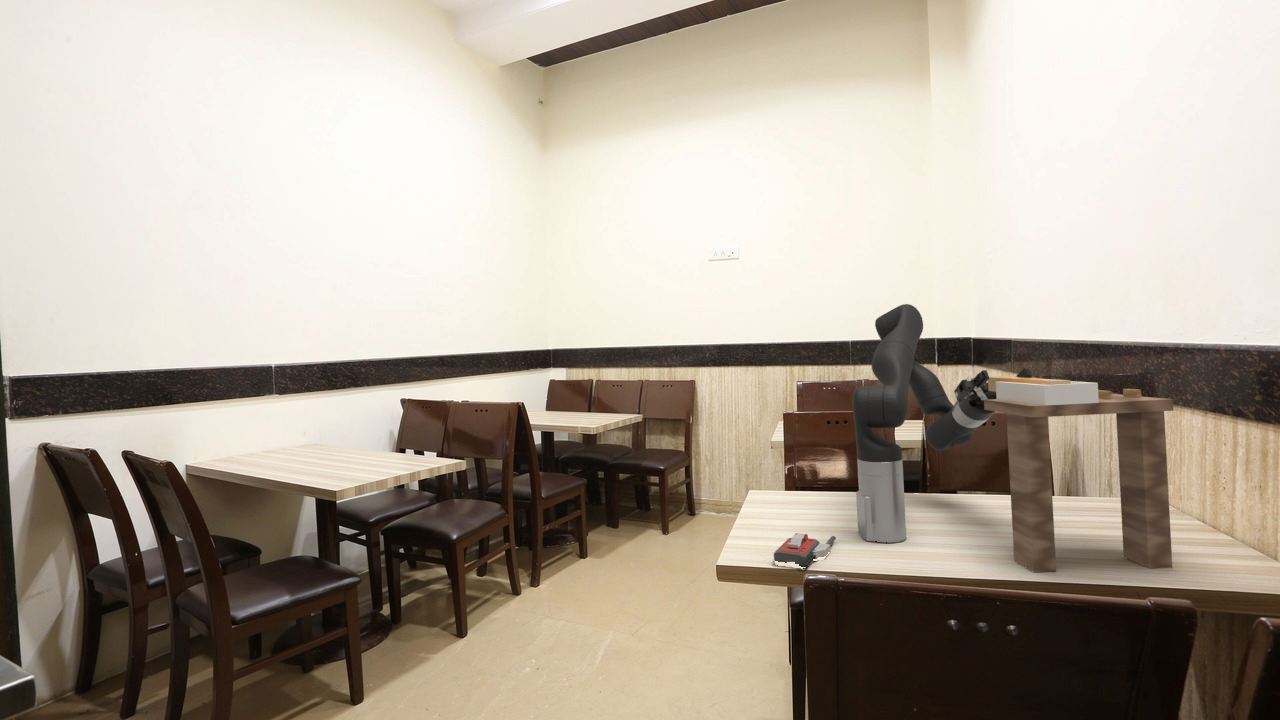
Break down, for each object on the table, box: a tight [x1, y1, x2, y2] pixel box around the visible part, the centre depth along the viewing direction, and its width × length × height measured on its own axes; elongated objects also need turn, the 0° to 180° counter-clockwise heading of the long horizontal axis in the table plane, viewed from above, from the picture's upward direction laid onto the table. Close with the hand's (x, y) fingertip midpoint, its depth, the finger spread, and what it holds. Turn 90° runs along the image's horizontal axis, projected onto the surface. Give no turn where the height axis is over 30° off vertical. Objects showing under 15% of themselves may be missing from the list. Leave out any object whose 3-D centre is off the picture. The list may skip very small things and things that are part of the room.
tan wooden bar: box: [987, 375, 1072, 392], centre depth 120 cm, size 3×22×3 cm, turn 177°
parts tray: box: [996, 380, 1099, 405], centre depth 115 cm, size 9×16×4 cm, turn 177°
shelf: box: [984, 388, 1174, 573], centre depth 114 cm, size 24×16×32 cm, turn 88°
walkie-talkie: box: [773, 532, 837, 567], centre depth 125 cm, size 9×4×20 cm
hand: (1007, 372), depth 126 cm, fingers open, 8 cm apart
